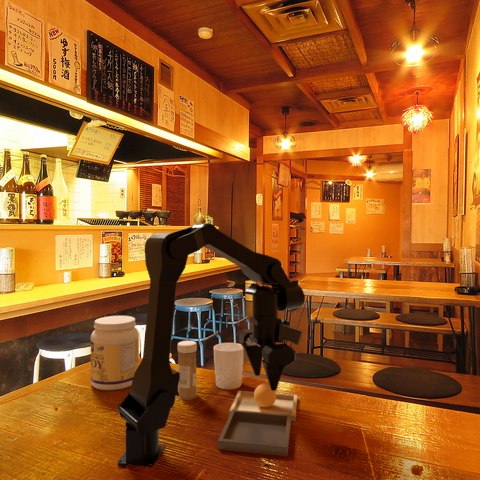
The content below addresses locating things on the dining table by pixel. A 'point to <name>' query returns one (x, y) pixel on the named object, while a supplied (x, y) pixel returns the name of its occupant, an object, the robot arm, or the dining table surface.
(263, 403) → the ball
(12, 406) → the dining table surface
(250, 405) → the tray
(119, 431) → the dining table surface
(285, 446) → the dish
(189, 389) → the sprinkles bottle
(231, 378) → the white cup
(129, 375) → the supplement tub
